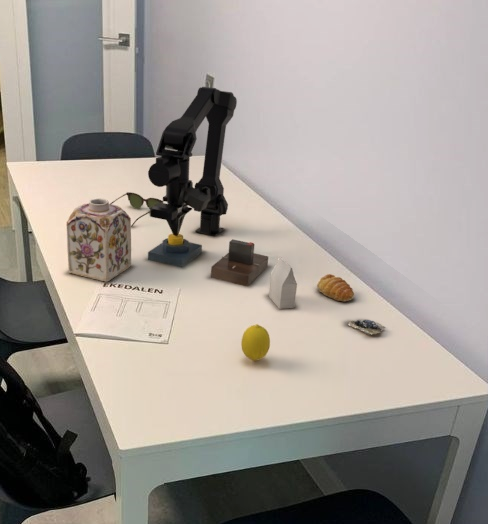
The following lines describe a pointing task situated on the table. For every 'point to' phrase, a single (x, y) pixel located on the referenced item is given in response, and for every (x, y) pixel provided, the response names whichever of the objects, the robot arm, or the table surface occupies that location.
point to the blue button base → (175, 253)
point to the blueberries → (367, 326)
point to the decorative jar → (99, 240)
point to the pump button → (175, 239)
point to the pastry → (335, 288)
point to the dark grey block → (241, 251)
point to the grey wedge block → (283, 285)
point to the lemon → (255, 342)
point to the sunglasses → (140, 202)
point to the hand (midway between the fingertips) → (175, 235)
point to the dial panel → (239, 270)
